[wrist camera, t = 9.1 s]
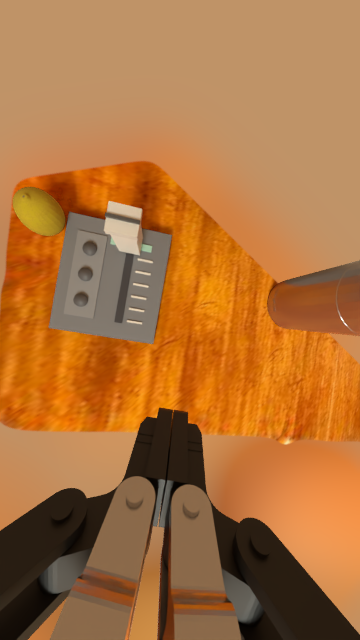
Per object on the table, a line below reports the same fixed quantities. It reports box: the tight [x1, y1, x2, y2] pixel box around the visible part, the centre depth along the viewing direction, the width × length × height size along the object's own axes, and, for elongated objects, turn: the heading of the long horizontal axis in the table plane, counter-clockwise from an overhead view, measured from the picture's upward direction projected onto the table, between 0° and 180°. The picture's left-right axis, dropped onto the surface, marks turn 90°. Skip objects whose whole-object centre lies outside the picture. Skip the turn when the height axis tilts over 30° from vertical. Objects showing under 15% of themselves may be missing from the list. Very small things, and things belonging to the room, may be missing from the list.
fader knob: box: [104, 201, 143, 255], centre depth 27 cm, size 4×3×8 cm
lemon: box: [13, 187, 65, 236], centre depth 28 cm, size 6×6×8 cm
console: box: [49, 212, 172, 344], centre depth 32 cm, size 16×18×3 cm
